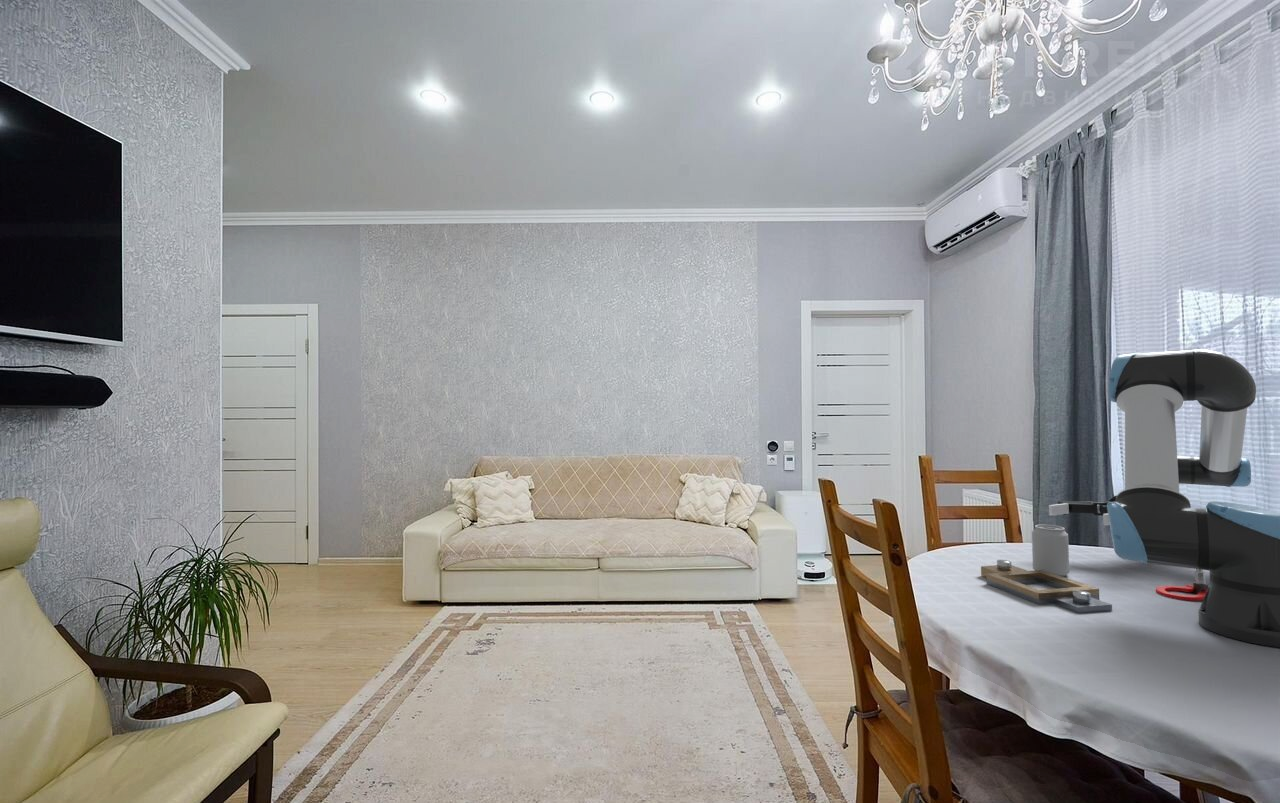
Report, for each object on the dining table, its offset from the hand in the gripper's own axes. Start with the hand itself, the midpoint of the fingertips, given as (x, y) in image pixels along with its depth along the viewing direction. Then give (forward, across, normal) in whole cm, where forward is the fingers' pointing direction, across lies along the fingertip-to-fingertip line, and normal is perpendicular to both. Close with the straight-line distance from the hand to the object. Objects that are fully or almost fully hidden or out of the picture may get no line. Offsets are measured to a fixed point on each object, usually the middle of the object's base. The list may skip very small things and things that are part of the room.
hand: (1076, 514), depth 149 cm
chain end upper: (+25, -6, -14) cm, 30 cm away
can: (+10, 0, -14) cm, 17 cm away
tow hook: (0, -22, -14) cm, 27 cm away
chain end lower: (+27, -12, -14) cm, 32 cm away
